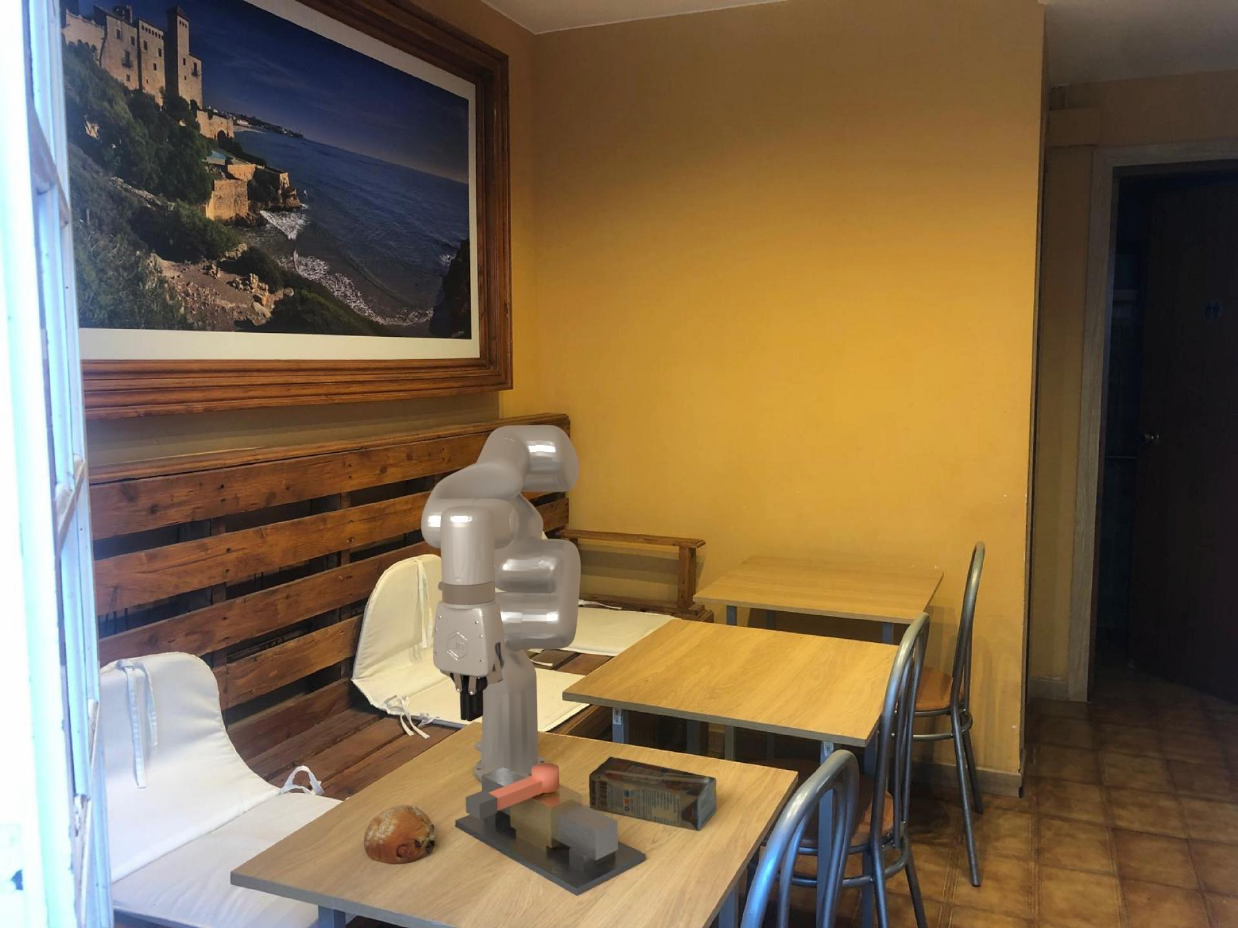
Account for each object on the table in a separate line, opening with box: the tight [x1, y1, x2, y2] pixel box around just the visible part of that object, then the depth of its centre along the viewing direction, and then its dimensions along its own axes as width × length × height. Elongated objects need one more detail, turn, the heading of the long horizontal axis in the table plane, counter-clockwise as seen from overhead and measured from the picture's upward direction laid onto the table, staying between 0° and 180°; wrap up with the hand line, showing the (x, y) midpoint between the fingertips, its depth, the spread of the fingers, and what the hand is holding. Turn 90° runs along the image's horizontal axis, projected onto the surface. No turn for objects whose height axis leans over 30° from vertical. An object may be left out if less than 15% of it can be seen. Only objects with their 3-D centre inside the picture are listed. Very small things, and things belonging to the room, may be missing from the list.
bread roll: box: [363, 804, 438, 865], centre depth 145 cm, size 10×10×8 cm
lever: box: [465, 762, 560, 820], centre depth 141 cm, size 15×4×3 cm, turn 134°
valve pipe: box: [454, 768, 646, 896], centre depth 145 cm, size 28×13×8 cm, turn 44°
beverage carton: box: [588, 756, 718, 832], centre depth 156 cm, size 8×19×7 cm, turn 64°
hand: (472, 717), depth 143 cm, fingers closed
